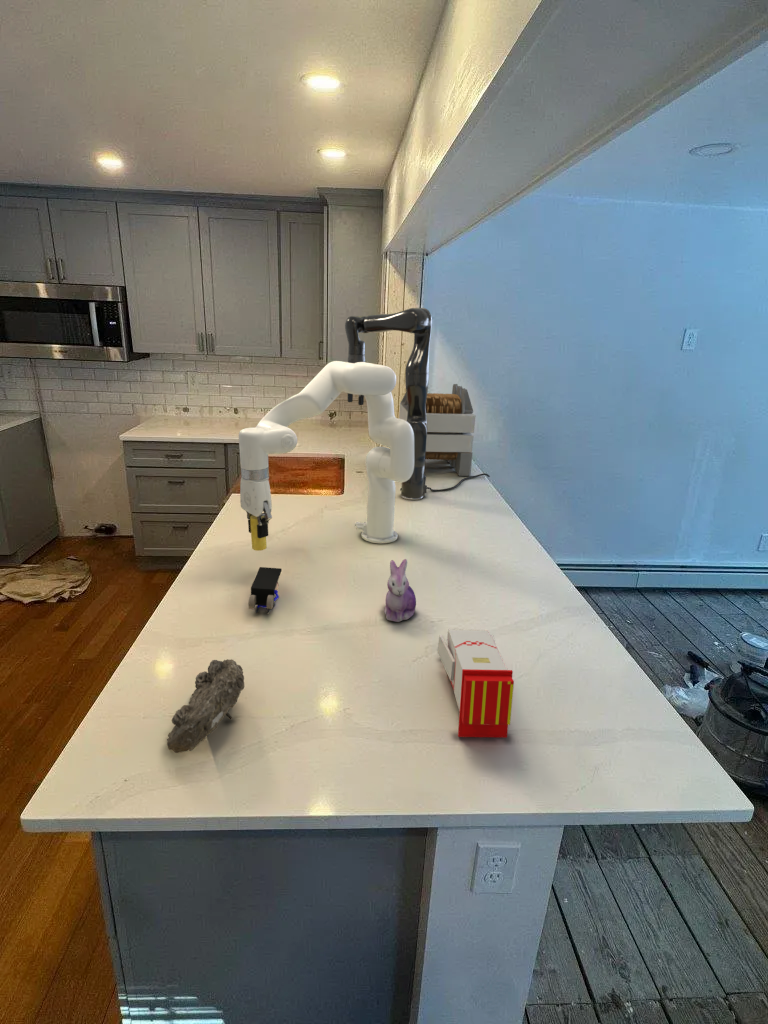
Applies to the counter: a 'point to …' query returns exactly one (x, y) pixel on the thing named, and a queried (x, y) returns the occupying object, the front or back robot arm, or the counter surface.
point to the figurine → (399, 594)
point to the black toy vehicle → (264, 588)
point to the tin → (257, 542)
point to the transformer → (448, 428)
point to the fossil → (206, 705)
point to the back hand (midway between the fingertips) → (355, 403)
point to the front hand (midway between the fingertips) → (258, 533)
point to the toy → (478, 682)
